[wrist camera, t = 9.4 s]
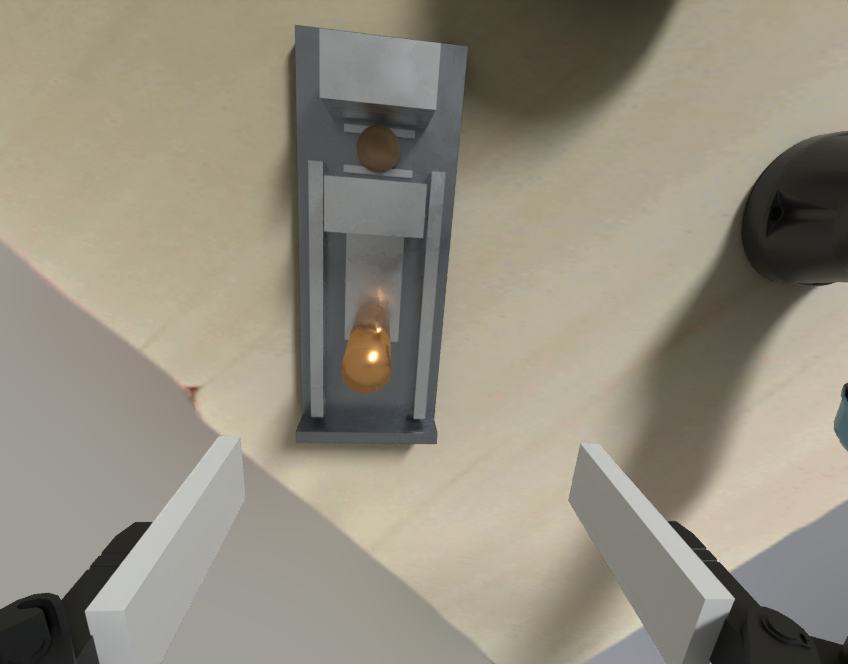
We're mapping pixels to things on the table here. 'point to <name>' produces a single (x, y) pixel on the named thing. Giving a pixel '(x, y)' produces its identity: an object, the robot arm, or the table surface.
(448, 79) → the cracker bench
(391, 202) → the ram handle
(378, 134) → the walnut
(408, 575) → the table surface
